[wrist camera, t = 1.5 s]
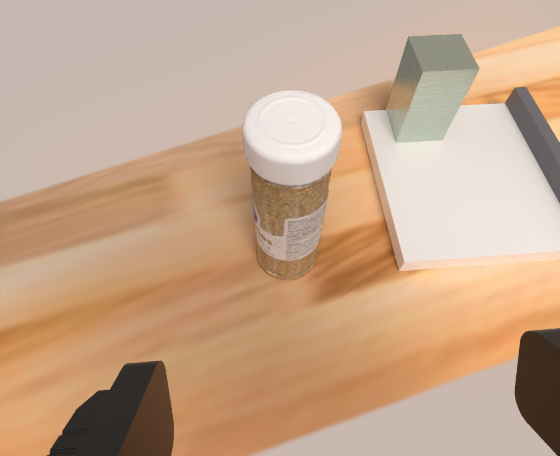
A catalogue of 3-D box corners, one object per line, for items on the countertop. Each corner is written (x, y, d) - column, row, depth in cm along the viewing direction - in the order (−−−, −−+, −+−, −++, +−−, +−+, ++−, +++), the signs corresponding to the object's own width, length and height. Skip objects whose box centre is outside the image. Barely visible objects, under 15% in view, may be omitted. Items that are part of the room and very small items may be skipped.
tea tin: (396, 143, 32) (422, 71, 26) (385, 109, 34) (408, 36, 28) (442, 140, 32) (479, 68, 26) (429, 107, 34) (461, 34, 28)
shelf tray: (398, 271, 28) (411, 251, 25) (360, 123, 35) (367, 95, 33) (585, 257, 28) (618, 236, 26) (508, 114, 36) (527, 87, 33)
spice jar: (248, 240, 29) (227, 101, 18) (302, 220, 30) (315, 75, 19) (271, 292, 27) (264, 173, 15) (328, 269, 28) (362, 139, 16)
